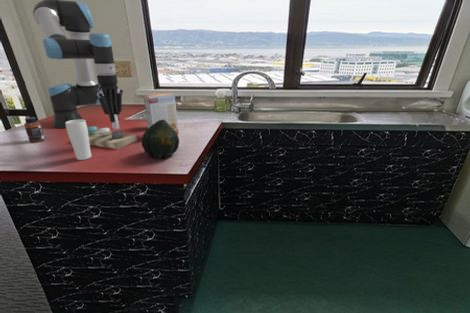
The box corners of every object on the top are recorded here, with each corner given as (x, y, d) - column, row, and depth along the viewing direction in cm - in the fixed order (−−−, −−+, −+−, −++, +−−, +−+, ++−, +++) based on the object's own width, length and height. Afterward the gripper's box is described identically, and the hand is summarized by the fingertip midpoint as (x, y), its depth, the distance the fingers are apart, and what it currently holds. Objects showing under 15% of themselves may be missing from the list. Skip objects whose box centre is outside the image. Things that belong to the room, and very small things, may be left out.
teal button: (83, 132, 118) (82, 128, 117) (92, 129, 123) (91, 125, 122) (91, 133, 117) (90, 129, 116) (100, 130, 121) (99, 126, 120)
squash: (136, 151, 91) (160, 118, 91) (134, 140, 104) (155, 112, 104) (168, 169, 98) (190, 139, 98) (162, 158, 111) (182, 131, 111)
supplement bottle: (48, 139, 121) (41, 117, 117) (35, 143, 116) (27, 119, 112) (39, 138, 123) (32, 116, 119) (26, 142, 118) (18, 118, 114)
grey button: (109, 137, 113) (108, 133, 112) (117, 134, 118) (117, 130, 117) (118, 138, 112) (117, 134, 111) (126, 135, 116) (125, 131, 115)
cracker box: (172, 132, 134) (169, 92, 126) (179, 134, 130) (175, 93, 122) (148, 137, 125) (142, 95, 117) (154, 140, 121) (148, 96, 113)
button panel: (75, 142, 118) (73, 135, 116) (96, 135, 128) (95, 129, 127) (117, 149, 109) (116, 142, 108) (136, 141, 119) (135, 134, 118)
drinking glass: (79, 155, 102) (70, 119, 97) (96, 154, 103) (88, 119, 97) (71, 161, 96) (60, 123, 90) (89, 161, 96) (80, 123, 91)
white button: (96, 134, 116) (95, 130, 115) (104, 131, 120) (104, 127, 119) (104, 135, 114) (103, 131, 113) (112, 132, 118) (112, 128, 117)
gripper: (100, 75, 97) (111, 133, 107) (125, 73, 109) (132, 125, 118) (86, 75, 100) (98, 131, 109) (111, 73, 111) (120, 124, 120)
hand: (116, 128), depth 113 cm, fingers closed
